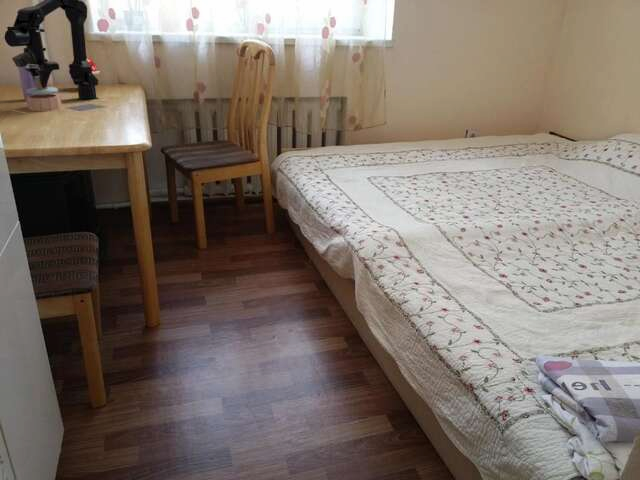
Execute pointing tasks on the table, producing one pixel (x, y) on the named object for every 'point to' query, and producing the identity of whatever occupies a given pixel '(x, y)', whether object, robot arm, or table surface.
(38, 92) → the lid
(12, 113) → the table surface
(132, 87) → the table surface
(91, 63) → the decorative mushroom
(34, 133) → the table surface
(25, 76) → the purple rectangular block
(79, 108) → the mat
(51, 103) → the bowl
